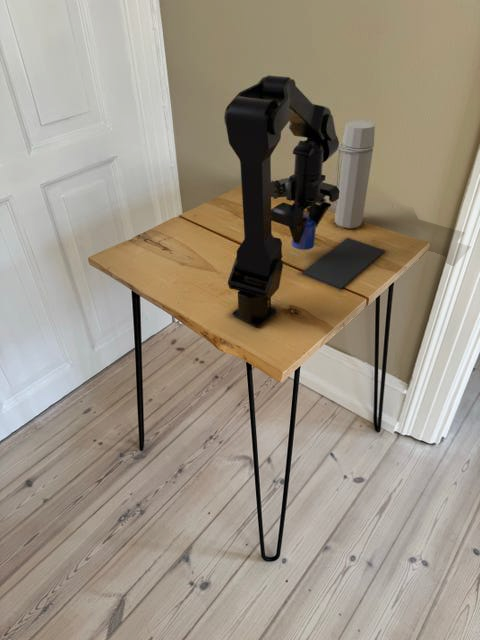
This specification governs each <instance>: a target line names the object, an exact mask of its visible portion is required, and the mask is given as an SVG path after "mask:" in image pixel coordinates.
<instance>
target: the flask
mask: <svg viewBox="0 0 480 640" xmlns="http://www.w3.org/2000/svg"><path fill="white" fill-rule="evenodd" d="M304 211H305V212H304V218H306V219H308V221H307V224H306V227H305V229H304V232H303V234H302V237H301V239H300V242H299V243H298V244H297V243H294V241H293V238H292V237H291V246H292V247H293V248H294V249H296V250H300V251H306V250H311V249H313V248H314V247H315V242H316V241H315V240H316V231H317V227H316V222H315V221H314V220H312V219H311V218H309V216H310V215H309V211H307V210H304Z"/></svg>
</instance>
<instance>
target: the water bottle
mask: <svg viewBox="0 0 480 640" xmlns="http://www.w3.org/2000/svg"><path fill="white" fill-rule="evenodd" d="M375 128H376V124H375V123H374V122H373V121H369V120H364V119H363V120H361V119H357V120H349V121H347V122H346V123H345V128H344V132H343V137H342V143H341V144H339V147H338V149H337V151H338V154H337V158H336V162H335V168H334V173H333V177H332V181H331V185H334V181H335V175H336V171H337V172H339V173H337V175H336V186H337V188H338V189H339V191H340V192H339V199H337V200H336V201H334V202H333V203H332V204H331V202H330V200H329V199H328V203H330V204H331V206H330V207H334V206H335V214H334V223H336V225H337V226H338V227H340V228H342V229H347V230H348V229H350V230H351V229H357V228H359V227H360V226H361V225H362V223H363V219H364V214H365V213H364V212H365V206H366V198H367V193H368V185H369V179H370V172H371V165H372V158H373V153H374V147H375V130H376V129H375ZM340 155H341V156H340ZM340 157H341V158H340ZM339 158H340V161H339Z"/></svg>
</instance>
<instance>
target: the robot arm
mask: <svg viewBox="0 0 480 640" xmlns="http://www.w3.org/2000/svg"><path fill="white" fill-rule="evenodd" d="M223 119H224V124H225V129H226V135H227V140H228V145H229V146H230V147H231V149H232V150H233V153H235V155H236V157H237V158H238V160H239V166H240V182H241V183H240V185H241V200H242V217H243V218H242V219H243V234H244V237H243V240H242V242H241V244H240V245H238V246H239V247H238V248H237V250H236V256H235V259H234V262H233V265H232V268H231V271H230V273H229V277H228V279H227V285H228V289H230V290H234V291H237V309H235V310H234V311H232V313H231V314H232V317H234V318H236V319H238V320H241V321H243V322H244V323H246V324H248V325H250V326H252V327H254V328H259V327H260V326H262V325H263V324H264V323H265V322H267V321H268V320H269V319H270V318H271V317H273V316H274V315H275V314H277V309H276V308H274V307H272V297H273V296H274V295H275V293H276V292H277V291H278V290H279V288H280V284H281V280H282V274H283V269H284V262H283V259H282V258H283V252H282V251H283V250H282V249H283V242H282V239H281V238H279V237H274V236H273V234H272V233H273V232H272V222H274V223H276V224H280V225H282V226H286V227H288V228H289V231H290V234H291V239H292V238H293V241H294V243H297V244H298V243H299V242H300V239H301V237H302V234H303V232H304V229H305V227H306V224H307V221H308V219H306V218H304V212H305V211H309V215H310V216H309V218H311V219H312V220H314V221H315V222H316V228H317V227H318V226H319V225H320V222H321V221H322V219H323V218H324V216H325V215H326V213H327V211H328V210H329V209H330V208H331V207H332V206H331V205H332V204H331V203H334V202H335V201H336V202H337V199H339V192H340V191H339V189H338V186H337V185H336V184H335V185H334V184H333V185H332V183H331V184H330V183H327V182H325V181H326V175H325V174H323V165H324V163H325V162H326V161H328V160H329V159H330V158H331V157H332V156H333V155H335V154H336V152H337V151H338V147H339V146H340V141H339V137H338V136H337V133H336V127H335V122H334V121H335V120H334V116H333V114H332V112H331V110H330V108H329V107H327V106H325V105H319V104H316V103H313V102H312V101H311V100H310V99H309V98H308V97H307V96H306V95H305V94H304V93H303V92H302V90H300V89H299V88H298V86H297V85H296V81H295V79H293V78H291V77H290V76H283V75H282V76H281V75H269V74H268V75H267V76H263V77H262V78H261V79H260V80H259V81H258V83H256V84H254V85H252V86H249V87H247V88H246V89H244V90H241V91H240V92H238V94H236V96H235V97H234V98H233V99H232V100H231V101H230V102H229V104H227V106H226V107H225V111H224V118H223ZM287 124H289V125H288V129H289V130H290V132H291V133H292V135H293V136H294V137H298V138H299V137H301V138H306V139H305V140H299V141H298V143H297V145H296V146H294V148H293V150H292V154H293V155H294V170H293V174H292V175H290V176H289V177H285V178H281V179H276V180H272V172H271V171H272V170H271V169H272V167H271V166H272V165H271V163H272V162H271V161H272V160H271V158H272V154H273V152H274V151H275V149H276V148H277V146H278V145H279V143H280V141H281V138H282V132H283V130H284V129H285V127H286V126H287ZM326 197H328V201H329V200H330V203H329V202H327V199H326ZM278 198H286V200H287V201H290V202H292V201H293V203H292V204H291V203H287V202H281V203H279V204H278V205H276V206H274V207H273V208H272V199H273V200H277V199H278Z"/></svg>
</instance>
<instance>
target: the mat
mask: <svg viewBox="0 0 480 640" xmlns="http://www.w3.org/2000/svg"><path fill="white" fill-rule="evenodd" d="M385 251H386V250H385V249H383V248H379V247H376V246H374V245H370V244H367V243H366V242H365V243H364V242H362V241H358V240H356V239H352V238H350V237H347V238H345V239H344V240H343V241H342V242H340V243H339V244H337V245H336V246H335V247H334V248H332V249H331V250H329V251H328V252H326V253H325V254H324V255H323V256H322V257H320V258H318V260H316V261H314V262H313V263H312V264H310V265H309V266H308V267H307V268H306V269H304V270H303V271H301V274H302V275H303V276H306V277H309V278H311V279H314V280H315V281H319V282H321V283H323V284H326V285H329V286H330V287H332V288H333V287H334V288H336V289H338V290H342V289H343V288H345V287H346V286H347V285H348V284H349V283H350V282H352V281H353V280H354V279H355V278H356V277H358V276H359V275H360V274H361V273H362V272H363V271H364V270H366V269H367V268H368V267H369V266H371V264H373V263H374V262H375V261H376V260H377V259H378V258H380V257H381V256H382V255H383V254H384V253H385Z"/></svg>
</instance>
